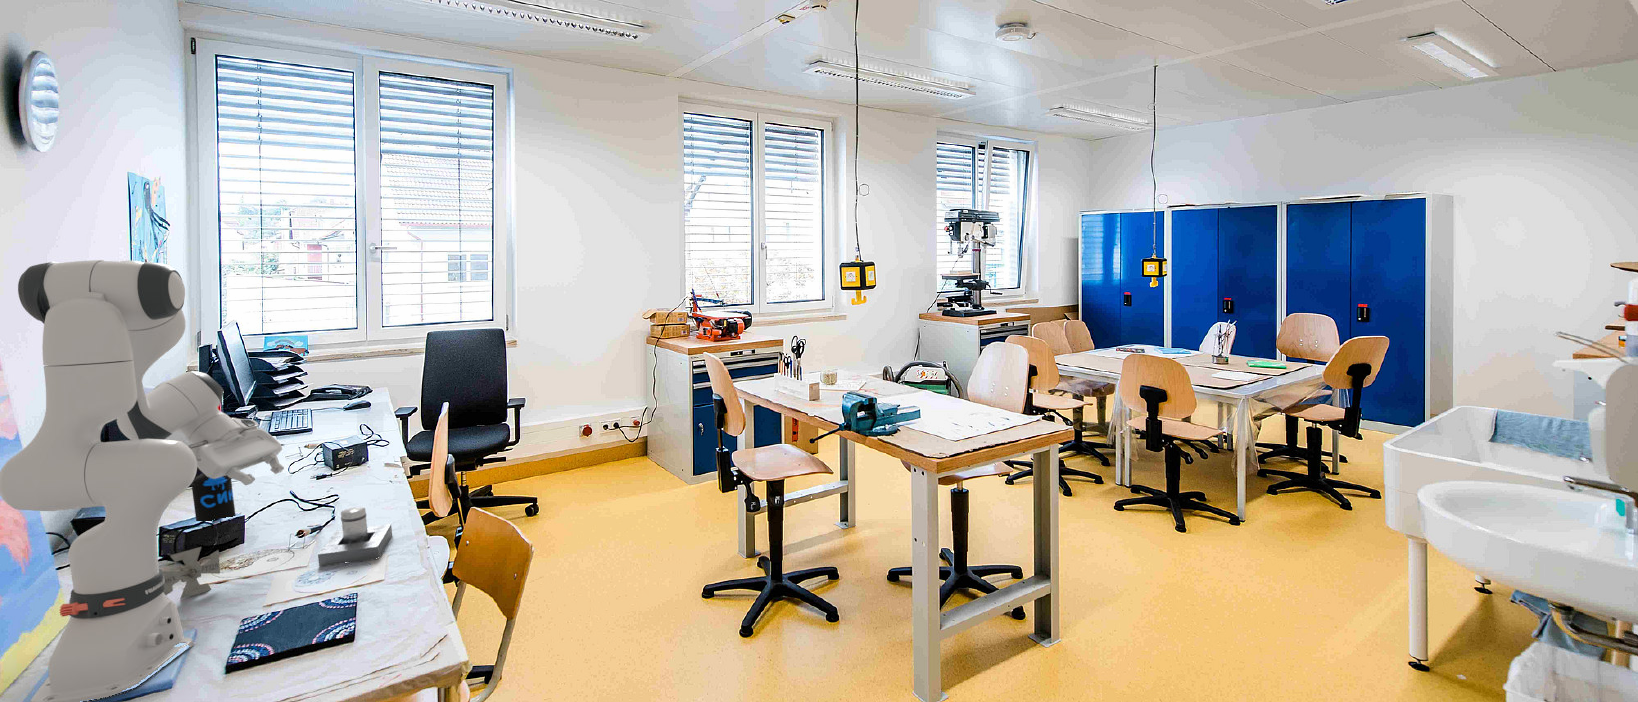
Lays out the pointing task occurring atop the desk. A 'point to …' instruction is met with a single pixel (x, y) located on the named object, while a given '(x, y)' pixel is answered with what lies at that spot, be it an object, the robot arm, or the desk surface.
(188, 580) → the cross
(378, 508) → the desk surface
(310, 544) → the desk surface
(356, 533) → the cylinder
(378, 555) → the grey rectangular frame
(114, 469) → the robot arm
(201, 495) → the aerosol can
